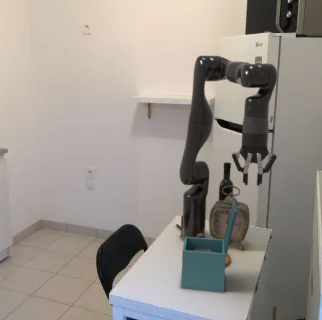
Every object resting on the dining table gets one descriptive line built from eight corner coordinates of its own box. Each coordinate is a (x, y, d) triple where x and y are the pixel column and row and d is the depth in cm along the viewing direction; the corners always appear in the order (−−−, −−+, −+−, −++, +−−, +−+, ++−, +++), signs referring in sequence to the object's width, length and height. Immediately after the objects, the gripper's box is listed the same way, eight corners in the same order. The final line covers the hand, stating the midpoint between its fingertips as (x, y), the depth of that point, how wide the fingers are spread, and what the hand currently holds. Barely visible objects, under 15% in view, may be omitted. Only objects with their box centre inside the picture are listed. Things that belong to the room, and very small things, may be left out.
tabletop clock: (208, 246, 176) (210, 186, 170) (212, 237, 184) (215, 180, 178) (245, 252, 170) (249, 190, 164) (248, 243, 178) (252, 184, 172)
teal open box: (181, 287, 145) (182, 250, 142) (184, 271, 156) (184, 236, 153) (223, 292, 142) (225, 254, 139) (223, 274, 153) (225, 239, 150)
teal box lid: (234, 211, 135) (237, 212, 135) (233, 199, 146) (235, 200, 146) (224, 252, 139) (227, 253, 139) (224, 238, 150) (226, 238, 150)
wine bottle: (231, 227, 194) (234, 161, 187) (230, 232, 189) (233, 165, 182) (218, 226, 196) (221, 161, 189) (217, 231, 191) (219, 164, 183)
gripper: (278, 128, 136) (274, 182, 140) (231, 128, 139) (228, 180, 143) (281, 133, 129) (277, 189, 133) (231, 132, 132) (229, 187, 136)
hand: (252, 184), depth 138 cm, fingers open, 3 cm apart
